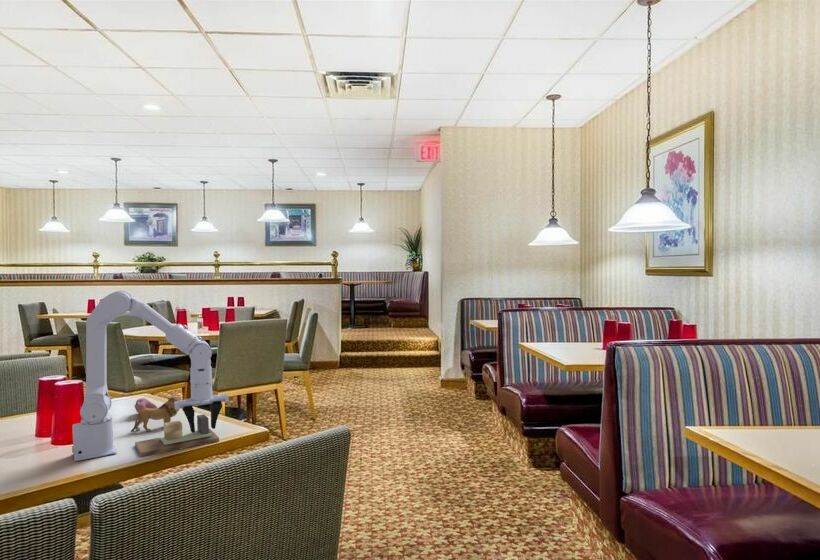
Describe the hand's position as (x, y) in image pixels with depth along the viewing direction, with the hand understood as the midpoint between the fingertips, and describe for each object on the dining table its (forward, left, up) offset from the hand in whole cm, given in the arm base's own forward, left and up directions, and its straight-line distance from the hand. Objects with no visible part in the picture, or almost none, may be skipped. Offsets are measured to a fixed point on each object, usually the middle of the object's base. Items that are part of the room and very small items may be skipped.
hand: (203, 429), depth 155 cm
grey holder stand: (-5, 0, -1) cm, 5 cm away
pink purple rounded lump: (-9, +39, -3) cm, 40 cm away
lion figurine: (-9, +20, -3) cm, 22 cm away
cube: (-8, 0, -1) cm, 8 cm away
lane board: (-7, 0, -2) cm, 7 cm away
